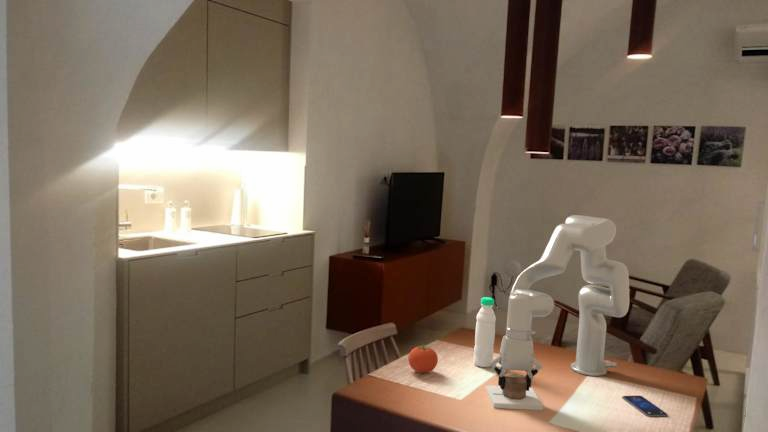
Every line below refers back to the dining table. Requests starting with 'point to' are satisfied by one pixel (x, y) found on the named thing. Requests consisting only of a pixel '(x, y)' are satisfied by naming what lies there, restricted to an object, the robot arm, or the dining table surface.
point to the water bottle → (484, 333)
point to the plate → (503, 402)
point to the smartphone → (645, 406)
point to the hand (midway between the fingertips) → (514, 388)
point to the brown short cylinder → (514, 386)
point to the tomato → (423, 359)
